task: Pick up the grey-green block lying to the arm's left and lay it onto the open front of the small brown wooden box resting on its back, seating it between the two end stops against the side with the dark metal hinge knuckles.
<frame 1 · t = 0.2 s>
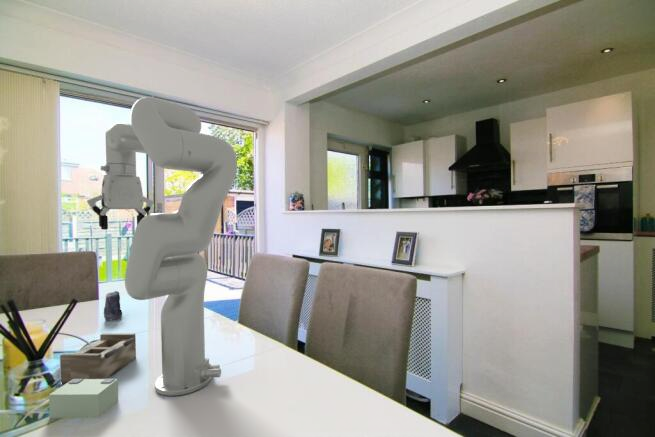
hand: (123, 228, 96), 37 cm above the table, tool pointing down, fingers open, 9 cm apart
grey-green block: (85, 409, 68), on the table
rock: (112, 318, 128), on the table
brown wooden box: (101, 370, 84), on the table
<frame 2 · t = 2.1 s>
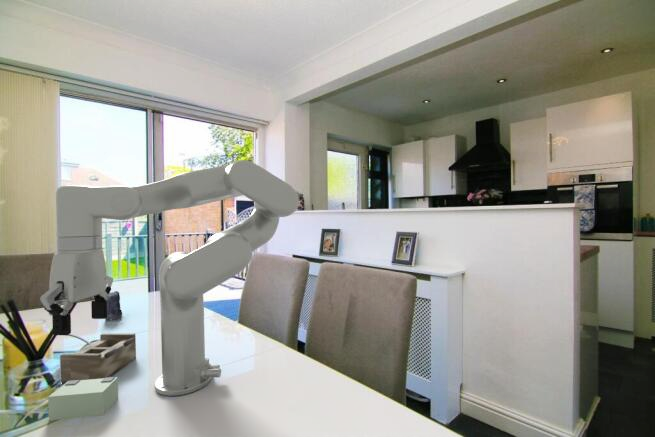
hand: (82, 326, 67), 18 cm above the table, tool pointing down, fingers open, 9 cm apart
nothing on the table moved.
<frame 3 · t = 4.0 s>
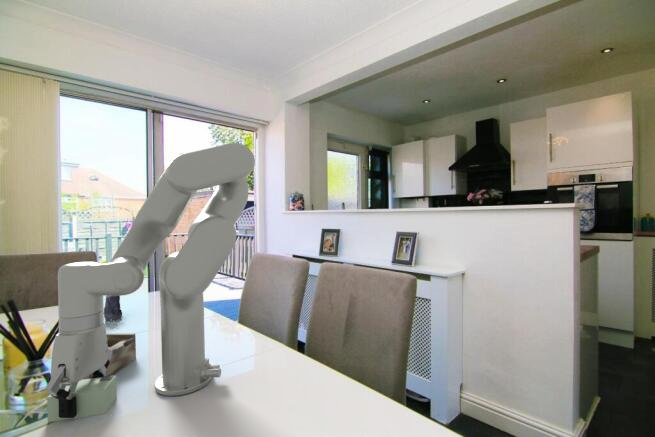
hand: (83, 404, 68), 1 cm above the table, tool pointing down, fingers closed on grey-green block, 7 cm apart
grey-green block: (84, 409, 68), on the table, touching gripper
everything else where it was.
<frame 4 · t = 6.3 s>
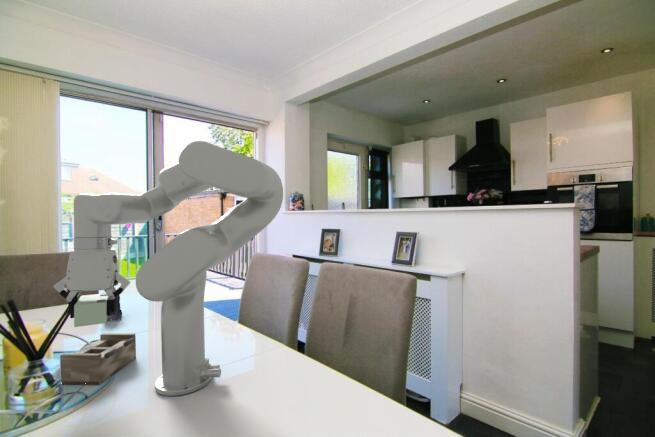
hand: (93, 314, 80), 16 cm above the table, tool pointing down, fingers closed on grey-green block, 7 cm apart
grey-green block: (93, 318, 80), point 15 cm above the table, touching gripper
everything else where it was.
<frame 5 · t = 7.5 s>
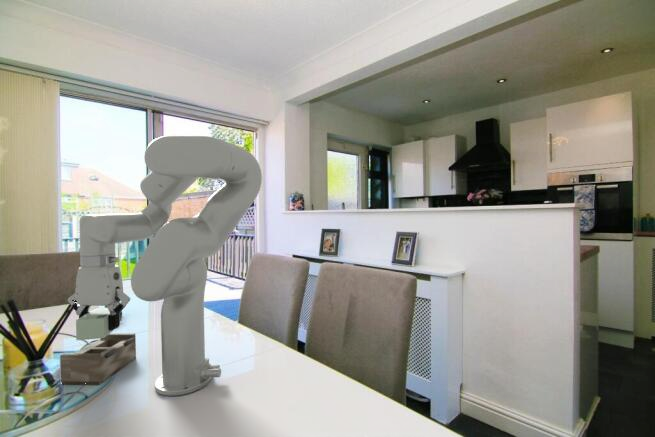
hand: (99, 328, 84), 11 cm above the table, tool pointing down, fingers closed on grey-green block, 7 cm apart
grey-green block: (99, 331, 84), point 10 cm above the table, touching gripper
everything else where it was.
when the fingers open (8 cm above the table, at t = 8.5 s): grey-green block drops 1 cm, resting on brown wooden box.
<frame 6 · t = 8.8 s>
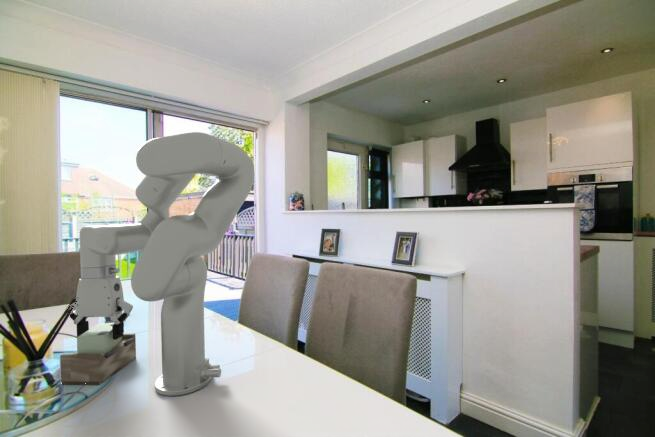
hand: (100, 337, 84), 9 cm above the table, tool pointing down, fingers open, 9 cm apart
grey-green block: (101, 348, 84), point 6 cm above the table, touching brown wooden box
everything else where it was.
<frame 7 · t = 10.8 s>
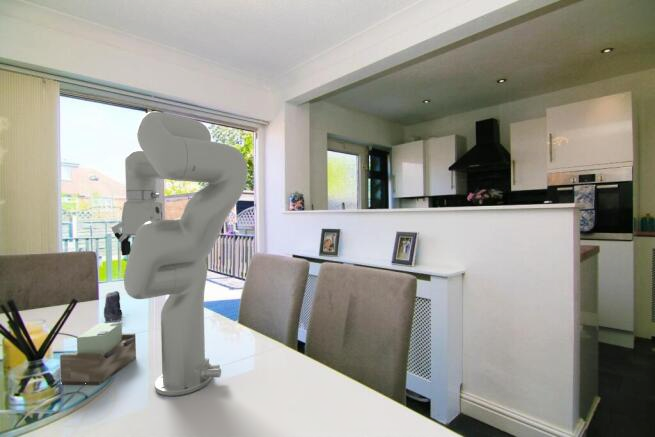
hand: (142, 254, 96), 29 cm above the table, tool pointing down, fingers open, 9 cm apart
nothing on the table moved.
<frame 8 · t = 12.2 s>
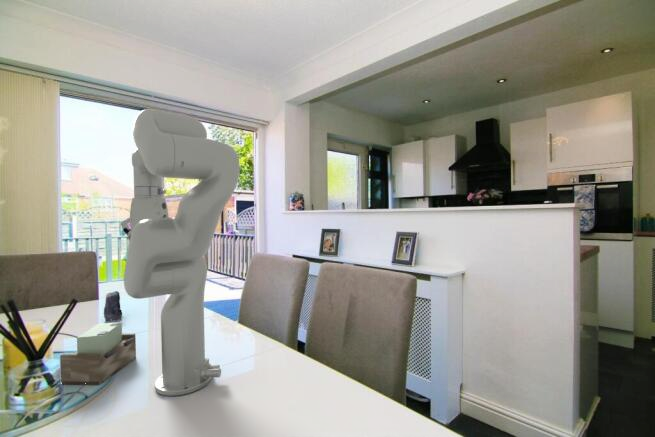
hand: (149, 249, 98), 30 cm above the table, tool pointing down, fingers open, 9 cm apart
nothing on the table moved.
at the end: grey-green block 0.2 cm off-centre on the brown wooden box, point 6.0 cm above the brown wooden box's base; grey-green block tilted 0°; the gripper is holding nothing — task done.
